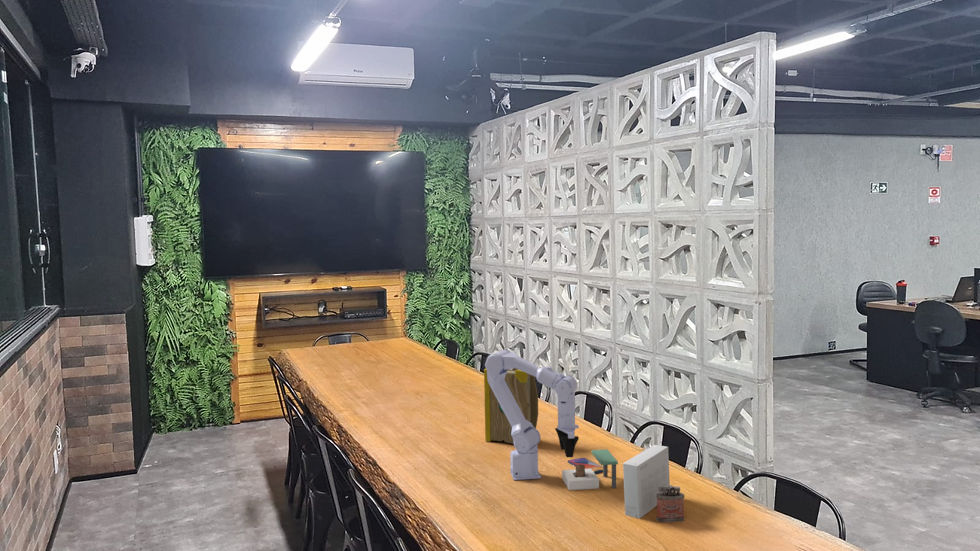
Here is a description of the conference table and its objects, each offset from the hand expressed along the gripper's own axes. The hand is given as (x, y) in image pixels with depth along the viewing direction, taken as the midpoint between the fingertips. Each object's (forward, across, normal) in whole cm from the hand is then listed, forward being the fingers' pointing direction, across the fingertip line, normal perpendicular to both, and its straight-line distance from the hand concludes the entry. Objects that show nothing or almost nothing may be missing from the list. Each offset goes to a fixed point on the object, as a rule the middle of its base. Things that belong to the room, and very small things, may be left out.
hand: (566, 453), depth 228 cm
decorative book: (+10, +46, +12) cm, 49 cm away
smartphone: (+10, +13, -10) cm, 20 cm away
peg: (+10, -2, -4) cm, 11 cm away
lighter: (+10, -33, -23) cm, 41 cm away
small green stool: (+10, -2, -12) cm, 16 cm away
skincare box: (+10, -22, -20) cm, 31 cm away
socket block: (+10, -2, -4) cm, 11 cm away
